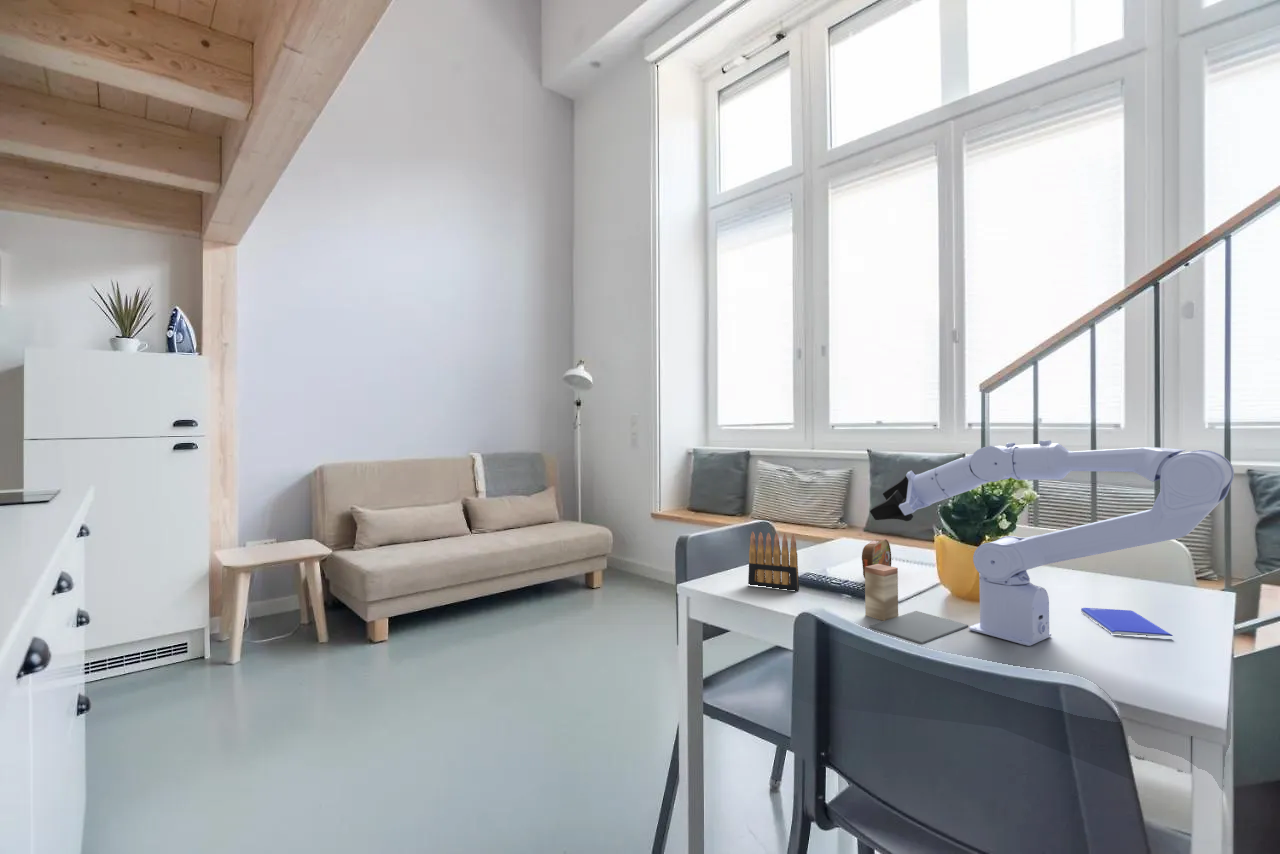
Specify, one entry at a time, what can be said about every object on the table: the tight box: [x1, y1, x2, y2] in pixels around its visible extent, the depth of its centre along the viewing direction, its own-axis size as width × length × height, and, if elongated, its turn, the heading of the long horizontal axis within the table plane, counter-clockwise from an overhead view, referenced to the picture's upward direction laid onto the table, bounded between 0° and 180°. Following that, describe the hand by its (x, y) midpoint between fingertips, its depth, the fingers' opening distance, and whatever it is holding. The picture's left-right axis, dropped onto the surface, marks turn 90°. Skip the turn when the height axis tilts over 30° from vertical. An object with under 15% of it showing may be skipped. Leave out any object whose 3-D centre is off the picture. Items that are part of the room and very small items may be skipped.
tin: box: [861, 538, 892, 579], centre depth 136 cm, size 15×3×8 cm, turn 143°
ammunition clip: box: [747, 531, 800, 592], centre depth 129 cm, size 11×2×12 cm, turn 65°
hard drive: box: [1080, 607, 1174, 637], centre depth 102 cm, size 2×8×12 cm
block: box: [864, 564, 899, 622], centre depth 109 cm, size 4×4×9 cm
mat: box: [869, 610, 969, 645], centre depth 103 cm, size 10×14×1 cm
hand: (879, 506), depth 116 cm, fingers open, 7 cm apart
